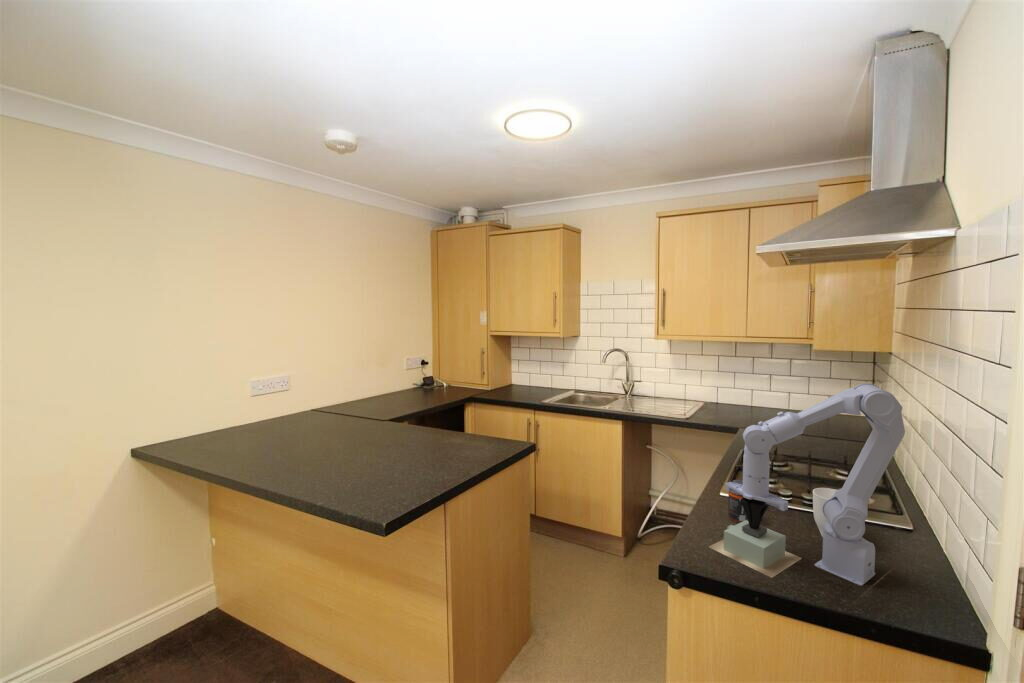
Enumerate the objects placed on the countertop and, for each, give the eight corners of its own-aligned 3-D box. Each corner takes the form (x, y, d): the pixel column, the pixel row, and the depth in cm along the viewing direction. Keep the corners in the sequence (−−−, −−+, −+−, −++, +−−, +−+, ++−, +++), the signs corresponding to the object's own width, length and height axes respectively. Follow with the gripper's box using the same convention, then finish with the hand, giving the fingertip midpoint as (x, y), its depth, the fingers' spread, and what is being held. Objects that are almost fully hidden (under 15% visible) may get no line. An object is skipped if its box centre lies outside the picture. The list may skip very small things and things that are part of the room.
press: (785, 555, 111) (785, 535, 111) (763, 568, 106) (763, 548, 106) (739, 535, 121) (740, 517, 121) (717, 546, 116) (718, 528, 115)
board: (802, 559, 110) (802, 558, 110) (771, 579, 102) (771, 577, 102) (738, 532, 123) (738, 531, 123) (708, 548, 116) (708, 546, 116)
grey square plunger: (766, 550, 112) (766, 528, 112) (757, 555, 110) (758, 532, 110) (750, 543, 115) (751, 521, 115) (741, 548, 113) (742, 526, 113)
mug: (849, 550, 114) (849, 503, 113) (808, 538, 120) (808, 494, 119) (859, 533, 121) (859, 490, 121) (820, 523, 128) (820, 482, 127)
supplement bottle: (748, 527, 126) (749, 488, 125) (725, 521, 130) (726, 483, 129) (752, 518, 131) (753, 481, 130) (730, 513, 135) (731, 476, 134)
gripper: (719, 469, 115) (718, 520, 116) (777, 488, 103) (776, 545, 104) (734, 463, 119) (733, 513, 120) (793, 481, 107) (791, 536, 108)
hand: (754, 527), depth 112 cm, fingers closed, pressing on grey square plunger
